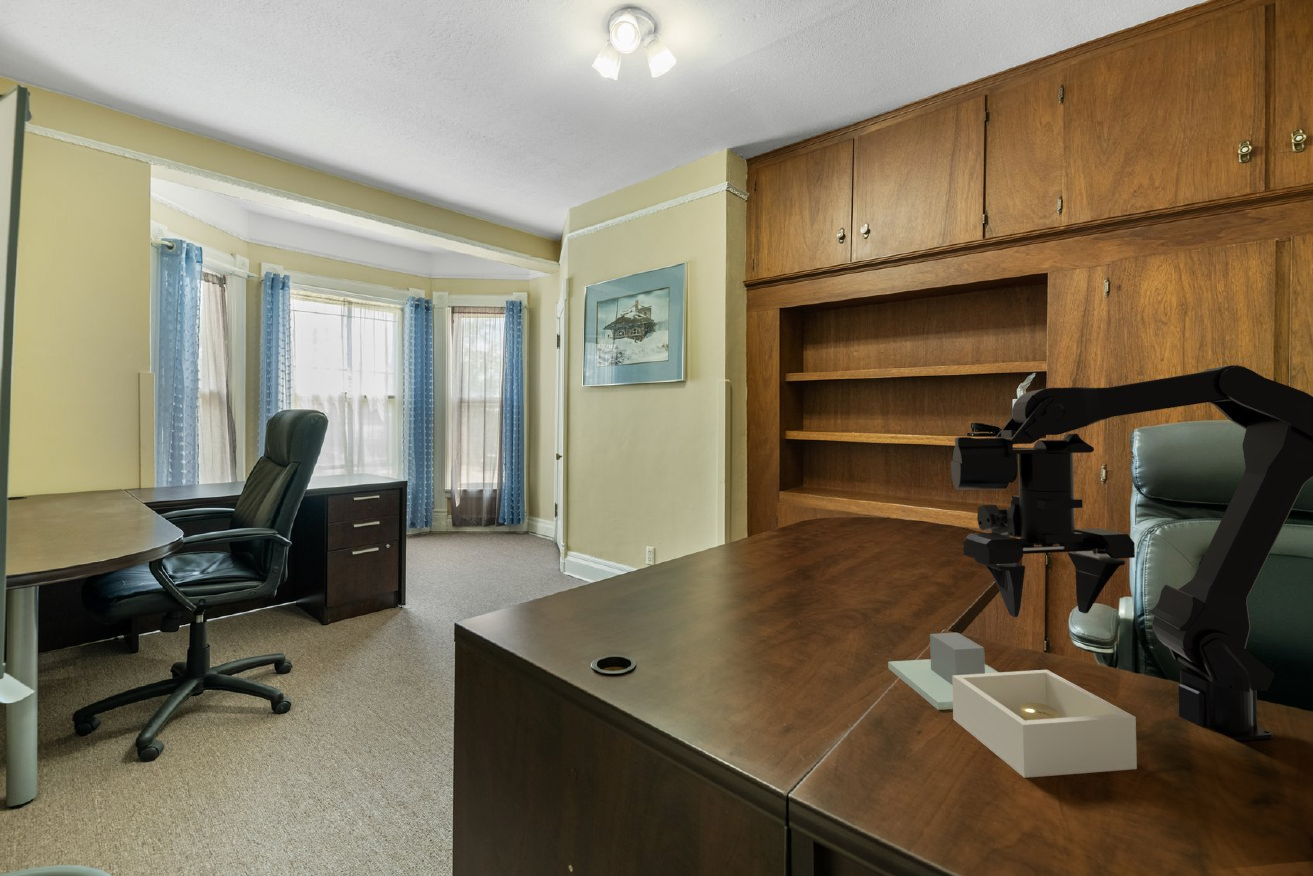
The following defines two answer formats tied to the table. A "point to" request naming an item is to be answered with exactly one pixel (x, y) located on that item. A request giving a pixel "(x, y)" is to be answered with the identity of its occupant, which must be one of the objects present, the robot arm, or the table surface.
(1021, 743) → the box
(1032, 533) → the robot arm
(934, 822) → the table surface
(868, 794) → the table surface
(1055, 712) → the brass weight
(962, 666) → the lid
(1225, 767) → the table surface
